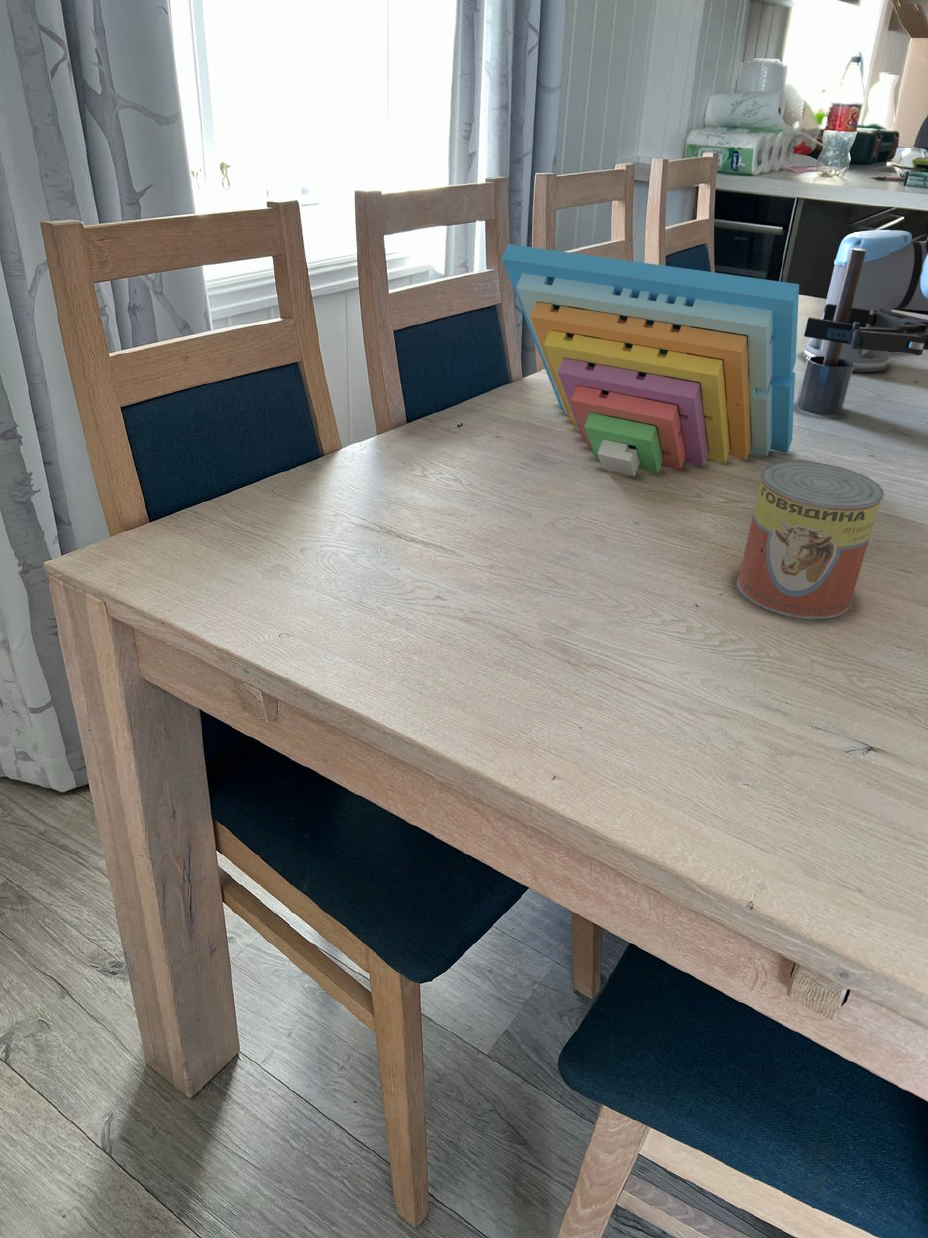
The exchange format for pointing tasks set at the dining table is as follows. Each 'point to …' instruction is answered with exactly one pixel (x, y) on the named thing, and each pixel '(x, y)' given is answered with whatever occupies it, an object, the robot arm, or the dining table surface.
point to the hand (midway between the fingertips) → (815, 319)
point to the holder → (824, 386)
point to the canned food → (808, 539)
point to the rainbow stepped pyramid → (661, 356)
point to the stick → (845, 301)
